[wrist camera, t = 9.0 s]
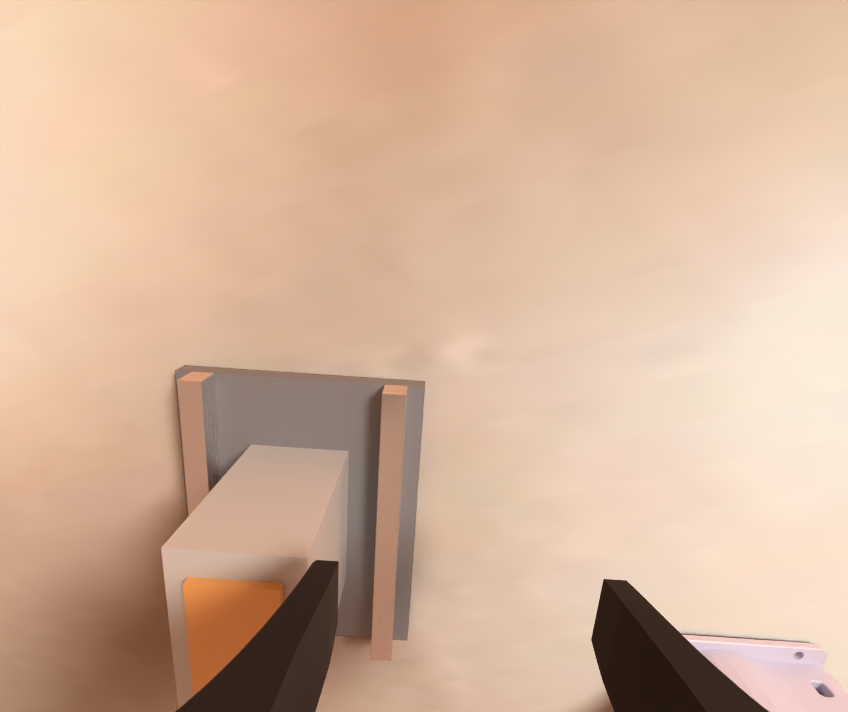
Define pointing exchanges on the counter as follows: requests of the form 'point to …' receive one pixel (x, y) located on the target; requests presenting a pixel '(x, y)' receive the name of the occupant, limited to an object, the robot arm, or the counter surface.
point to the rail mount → (331, 430)
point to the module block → (250, 553)
